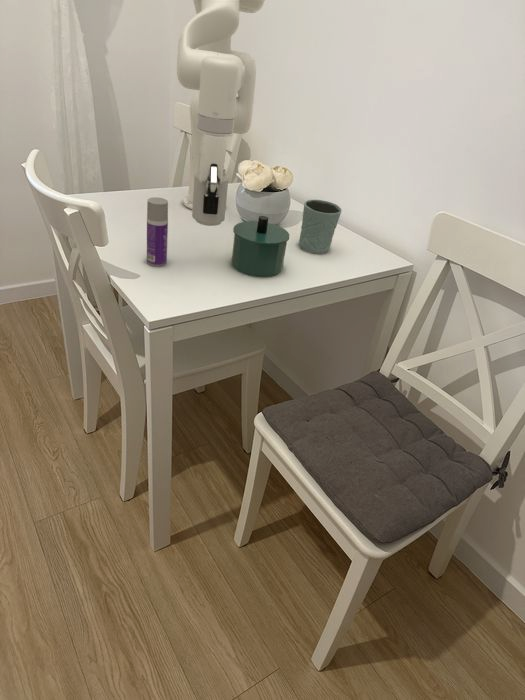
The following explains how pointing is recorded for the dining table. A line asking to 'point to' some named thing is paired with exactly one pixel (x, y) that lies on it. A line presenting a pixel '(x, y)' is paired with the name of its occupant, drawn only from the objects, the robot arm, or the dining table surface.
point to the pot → (257, 258)
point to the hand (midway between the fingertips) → (209, 206)
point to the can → (199, 199)
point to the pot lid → (261, 232)
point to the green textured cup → (318, 226)
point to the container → (157, 231)
